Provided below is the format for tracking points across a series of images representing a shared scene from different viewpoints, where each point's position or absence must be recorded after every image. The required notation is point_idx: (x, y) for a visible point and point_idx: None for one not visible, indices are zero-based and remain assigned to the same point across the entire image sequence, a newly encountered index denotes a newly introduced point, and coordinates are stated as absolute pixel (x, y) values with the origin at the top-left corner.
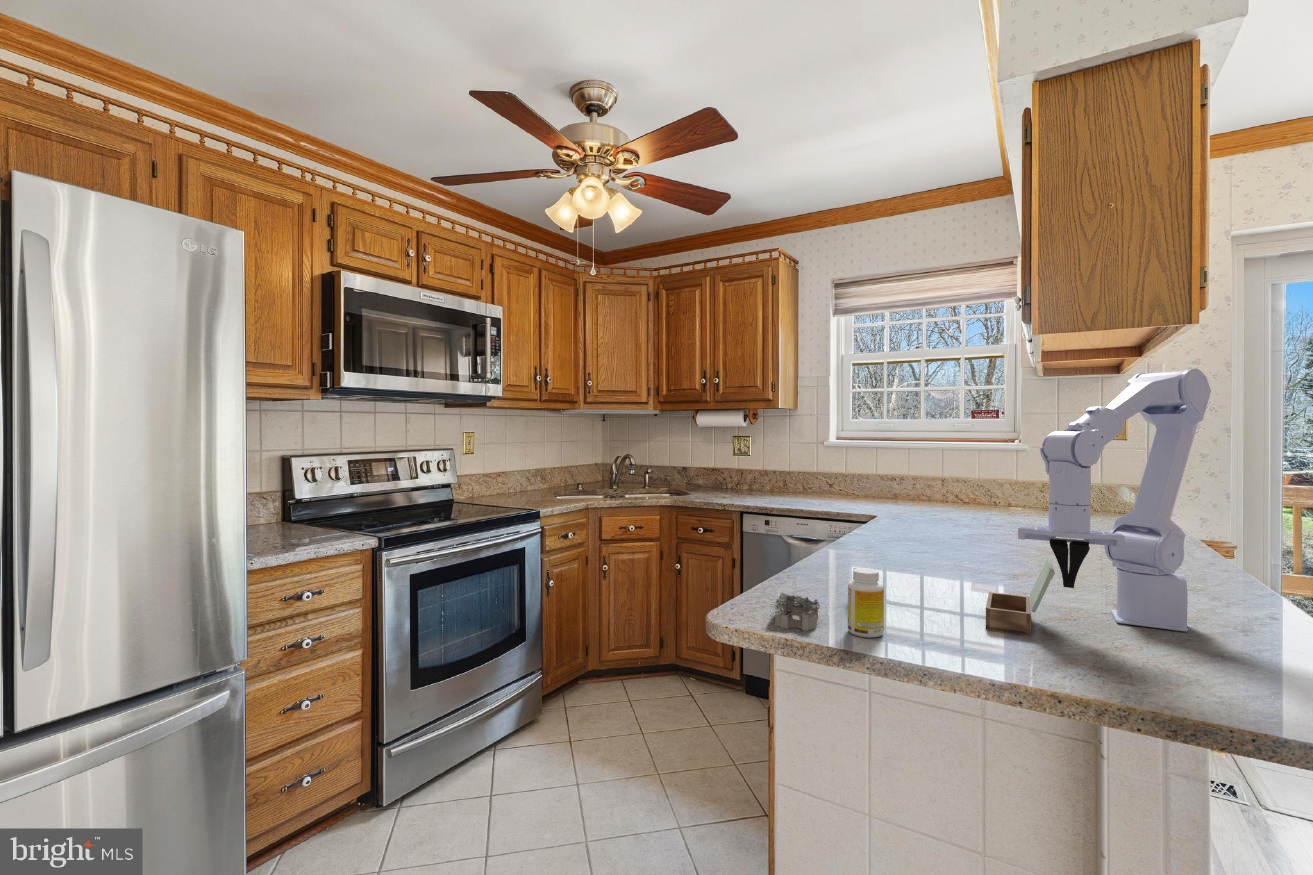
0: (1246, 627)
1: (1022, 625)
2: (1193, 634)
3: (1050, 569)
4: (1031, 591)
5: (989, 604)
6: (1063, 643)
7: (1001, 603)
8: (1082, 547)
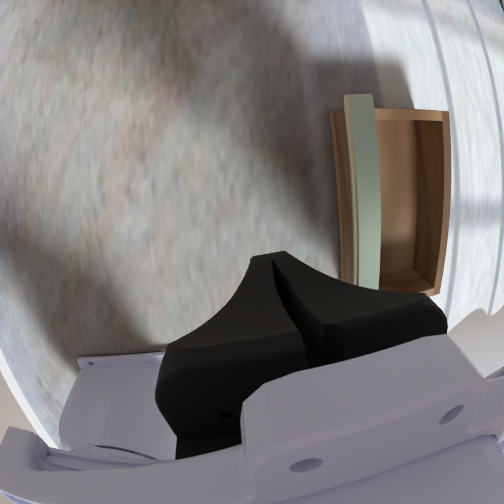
0: (55, 412)
1: None
2: (71, 353)
3: (375, 155)
4: None
5: (446, 156)
6: (252, 98)
7: (405, 280)
8: (202, 363)
